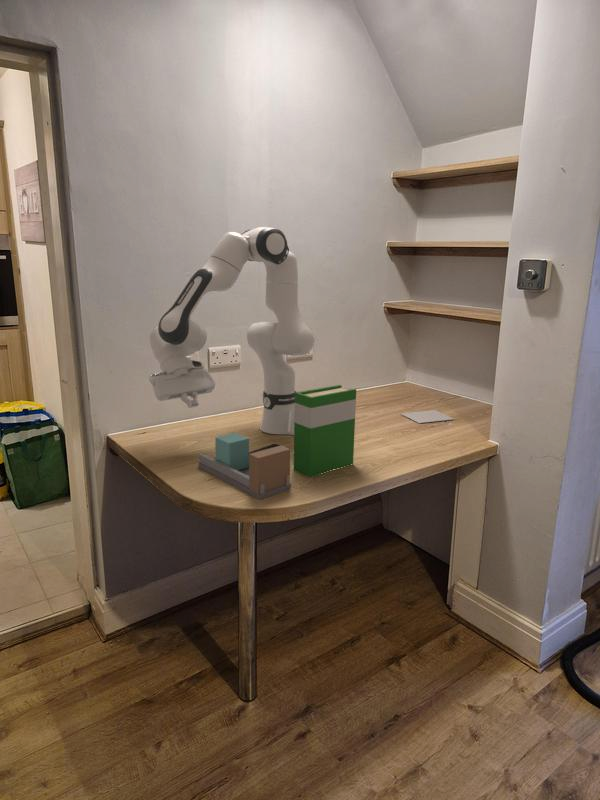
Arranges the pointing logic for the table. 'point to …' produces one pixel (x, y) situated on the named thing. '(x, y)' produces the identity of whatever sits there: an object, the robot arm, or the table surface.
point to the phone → (265, 448)
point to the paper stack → (427, 416)
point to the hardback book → (324, 429)
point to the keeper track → (255, 472)
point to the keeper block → (233, 450)
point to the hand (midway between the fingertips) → (193, 406)
